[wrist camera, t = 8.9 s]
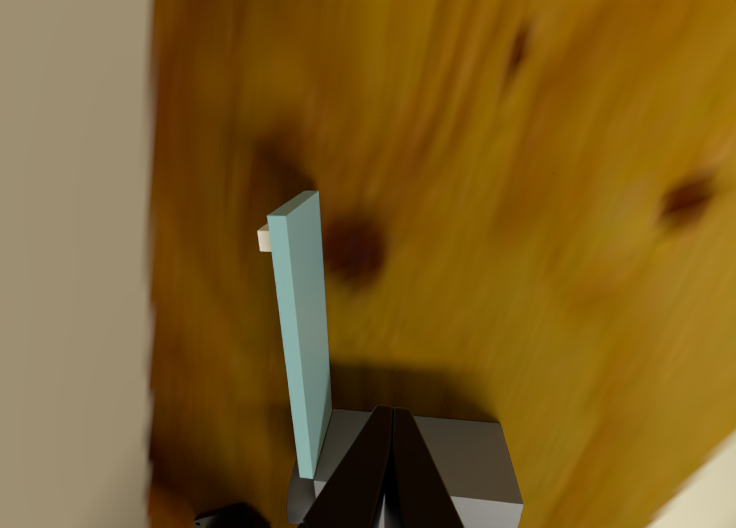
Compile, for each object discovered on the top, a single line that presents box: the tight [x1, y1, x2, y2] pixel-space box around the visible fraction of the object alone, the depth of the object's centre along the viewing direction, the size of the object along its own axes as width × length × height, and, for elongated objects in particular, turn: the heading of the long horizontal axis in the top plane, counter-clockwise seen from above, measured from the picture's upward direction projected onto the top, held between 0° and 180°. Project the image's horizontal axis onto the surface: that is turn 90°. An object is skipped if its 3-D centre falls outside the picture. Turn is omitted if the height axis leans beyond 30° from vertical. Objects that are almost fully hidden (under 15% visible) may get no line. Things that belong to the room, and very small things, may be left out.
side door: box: [257, 191, 332, 479], centre depth 19 cm, size 16×2×5 cm, turn 0°
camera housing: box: [287, 409, 524, 528], centre depth 24 cm, size 14×10×6 cm
